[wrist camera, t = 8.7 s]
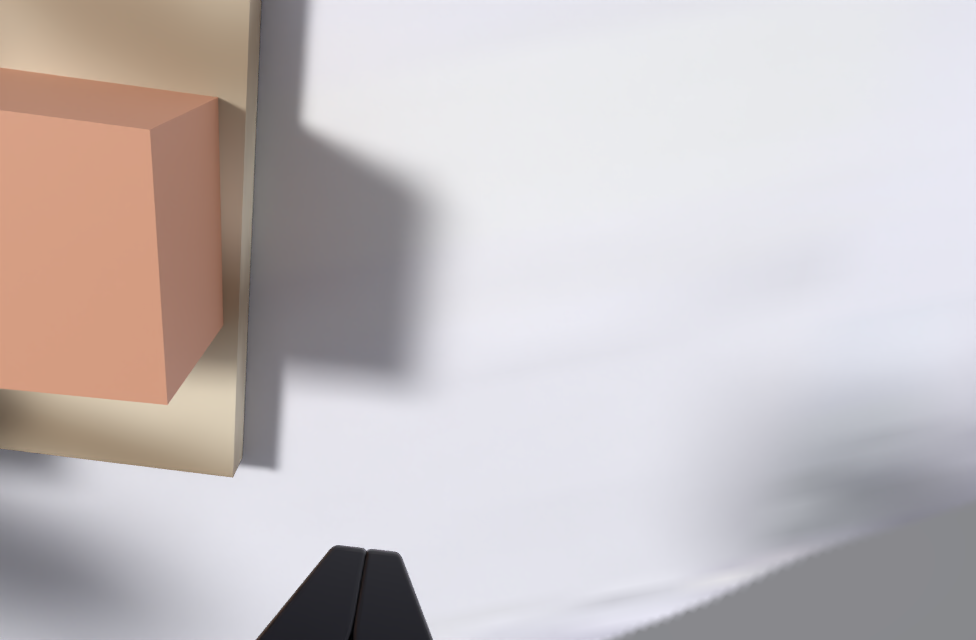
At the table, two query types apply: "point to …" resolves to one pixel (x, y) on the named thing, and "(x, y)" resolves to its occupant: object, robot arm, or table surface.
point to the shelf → (234, 80)
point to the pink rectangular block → (106, 236)
